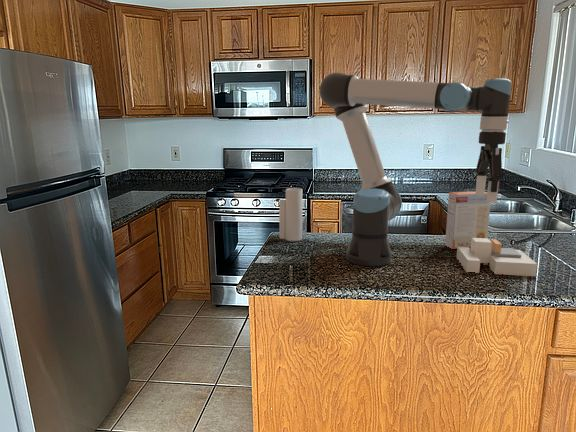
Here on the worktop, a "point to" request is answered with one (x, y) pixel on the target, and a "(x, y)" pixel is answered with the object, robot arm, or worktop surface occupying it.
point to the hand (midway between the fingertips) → (485, 198)
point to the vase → (291, 215)
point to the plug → (481, 249)
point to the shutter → (503, 250)
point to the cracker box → (466, 218)
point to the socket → (498, 263)
